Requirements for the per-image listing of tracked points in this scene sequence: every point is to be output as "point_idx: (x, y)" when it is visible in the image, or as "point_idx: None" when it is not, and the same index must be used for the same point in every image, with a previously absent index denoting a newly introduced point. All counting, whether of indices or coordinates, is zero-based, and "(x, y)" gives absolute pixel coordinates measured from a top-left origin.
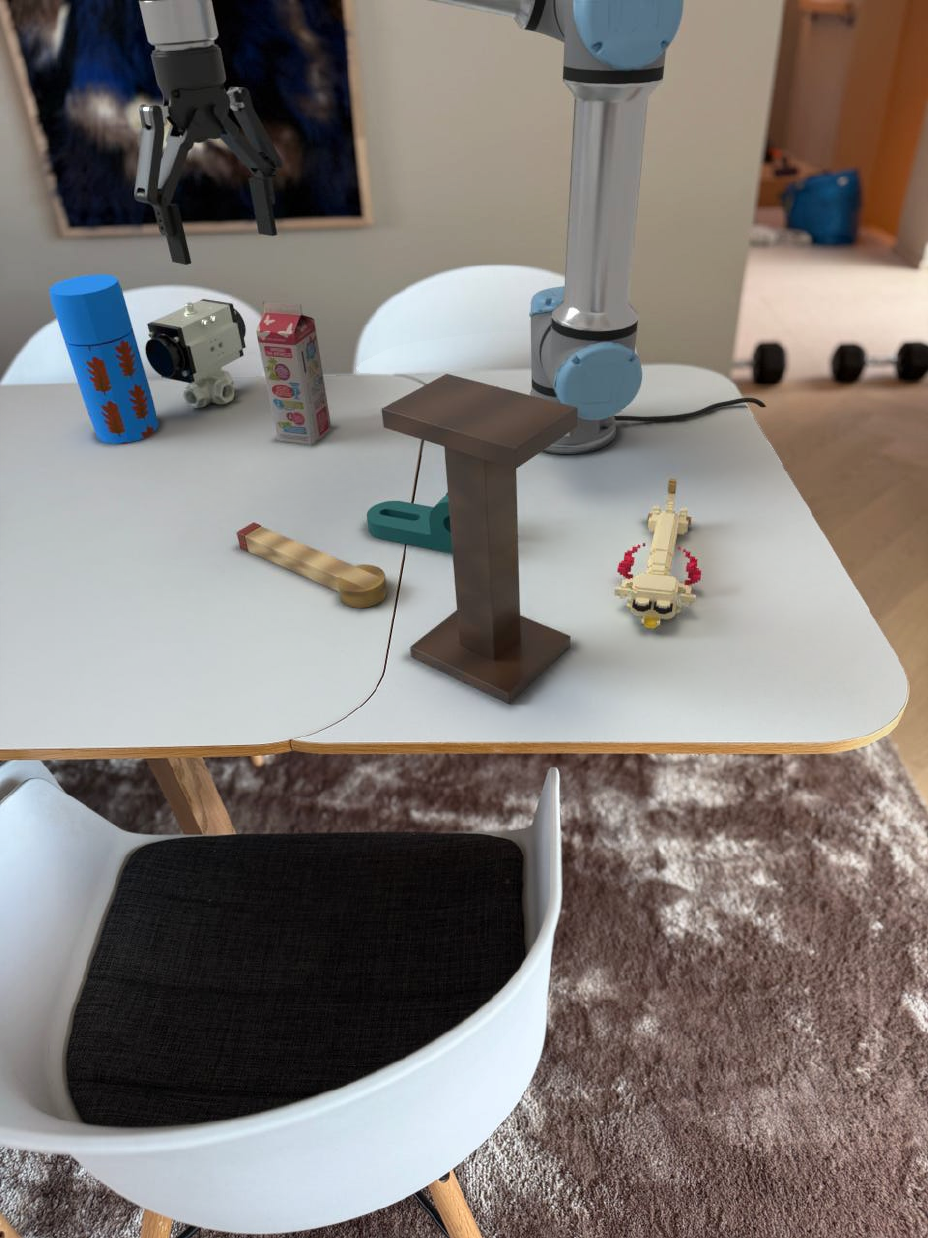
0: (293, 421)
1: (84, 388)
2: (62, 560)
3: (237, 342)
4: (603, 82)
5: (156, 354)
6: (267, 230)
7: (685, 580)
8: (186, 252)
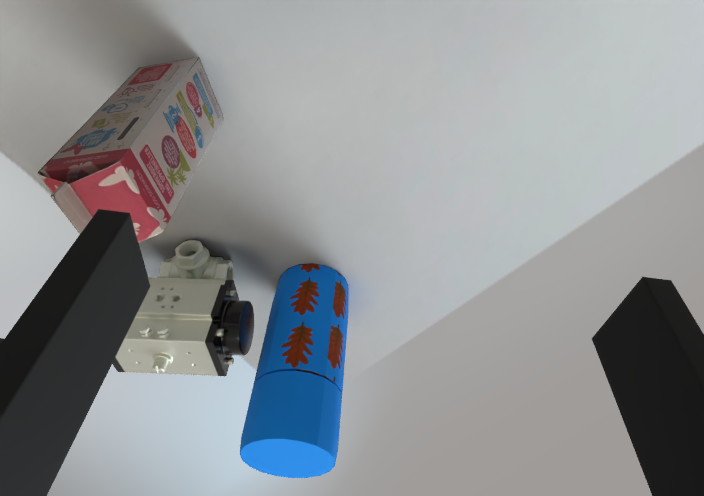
0: (199, 101)
1: (345, 346)
2: (605, 153)
3: None
4: None
5: (246, 334)
6: (128, 254)
7: None
8: (682, 319)
